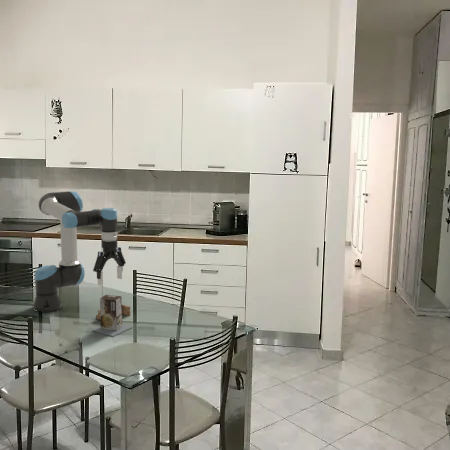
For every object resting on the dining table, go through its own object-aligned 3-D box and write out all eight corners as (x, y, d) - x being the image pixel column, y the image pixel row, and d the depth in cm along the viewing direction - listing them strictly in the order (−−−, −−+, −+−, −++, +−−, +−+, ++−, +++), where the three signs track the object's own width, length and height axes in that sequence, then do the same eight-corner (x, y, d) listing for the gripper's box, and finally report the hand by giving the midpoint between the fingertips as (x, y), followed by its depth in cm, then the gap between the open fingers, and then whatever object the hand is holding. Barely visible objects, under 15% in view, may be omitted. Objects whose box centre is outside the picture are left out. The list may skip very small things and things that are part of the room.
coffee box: (122, 326, 259) (122, 296, 256) (116, 331, 252) (116, 299, 250) (106, 324, 261) (105, 294, 258) (100, 329, 255) (99, 298, 252)
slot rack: (96, 318, 270) (95, 309, 269) (114, 311, 282) (114, 302, 281) (112, 323, 264) (112, 314, 263) (130, 315, 276) (130, 306, 275)
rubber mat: (92, 330, 254) (92, 329, 254) (112, 322, 265) (112, 321, 265) (113, 336, 247) (113, 335, 246) (132, 327, 258) (132, 326, 258)
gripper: (96, 245, 236) (97, 289, 240) (132, 236, 257) (132, 277, 261) (84, 243, 240) (86, 286, 244) (121, 234, 261) (121, 274, 265)
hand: (110, 281), depth 252 cm, fingers open, 13 cm apart
